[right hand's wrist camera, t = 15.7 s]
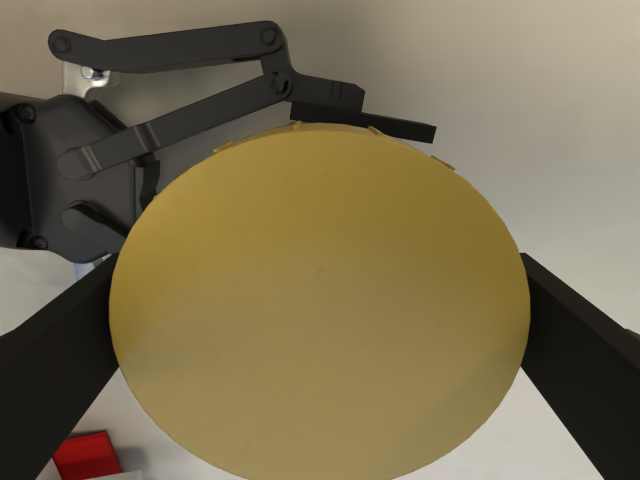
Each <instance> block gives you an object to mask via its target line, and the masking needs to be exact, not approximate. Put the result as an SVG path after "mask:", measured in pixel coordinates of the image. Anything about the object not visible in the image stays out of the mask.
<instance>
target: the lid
mask: <svg viewBox="0 0 640 480" xmlns="http://www.w3.org/2000/svg"><path fill="white" fill-rule="evenodd" d="M213 152H214V154H213V155H212V156H210V157H208V158H206V159H204V160H203V161H201V162H199V163H197V164H195V165H194V166H192V167H191V168H189V169H188V170H187V171H185V172H184V173H183V174H181V175H180V176H179V177H177V178H176V179H175V180H173V181H172V182H171V183H169V184H168V185H167V186H166V187H165V188H164V189H163V190H162V191H161V192H160V193H159V194H157V195H156V196H155V197H154V198H153V199H154V200H153V201H152V202H151V203H150V204H149V205H148V206H147V207H146V209H145V210H144V212H143V213H142V214H141V216H140V217H139V218H138V220H137V221H136V223H135V224H134V225H133V227H132V229H131V231H130V233H129V235H128V237H127V239H126V241H125V243H124V245H123V247H122V249H121V251H120V254H119V257H118V260H117V263H116V266H115V270H114V273H113V277H112V283H111V290H110V297H109V325H110V331H111V337H112V343H113V348H114V351H115V354H116V357H117V361H118V364H119V367H120V370H121V372H122V374H123V376H124V378H125V380H126V382H127V384H128V386H129V388H130V390H131V391H132V393H133V394H134V396H135V397H136V399H137V400H138V402H139V403H140V405H141V406H142V408H143V409H144V410H145V412H146V413H147V414H148V415H149V416H150V417H151V418H152V420H153V421H154V422H155V423H156V424H157V425H158V426H159V427H160V428H161V429H162V430H163V431H164V432H165V433H166V434H167V435H169V436H170V437H171V438H172V439H173V440H174V441H175V442H177V443H178V444H179V445H181V446H182V447H184V448H185V449H186V450H188V451H189V452H191V453H192V454H193V455H195V456H197V457H199V458H200V459H202V460H204V461H206V462H207V463H209V464H211V465H213V466H215V467H217V468H220V469H222V470H224V471H226V472H229V473H231V474H233V475H236V476H239V477H242V478H245V479H248V480H391V479H394V478H397V477H400V476H403V475H406V474H409V473H411V472H413V471H416V470H418V469H420V468H422V467H424V466H426V465H428V464H431V463H432V462H434V461H436V460H437V459H439V458H441V457H442V456H444V455H446V454H447V453H449V452H451V451H452V450H453V449H455V448H456V447H457V446H459V445H460V444H461V443H463V442H464V441H465V440H467V439H468V438H469V437H470V436H471V435H472V434H473V433H474V432H475V431H476V430H477V429H478V428H480V427H481V426H482V425H483V424H484V423H485V422H486V420H487V419H488V418H489V417H490V416H491V414H492V413H493V412H494V411H495V410H496V408H497V407H498V406H499V405H500V403H501V401H502V400H503V398H504V397H505V395H506V393H507V392H508V390H509V389H510V387H511V385H512V383H513V381H514V379H515V377H516V374H517V372H518V370H519V368H520V366H521V362H522V359H523V356H524V352H525V349H526V345H527V341H528V333H529V326H530V293H529V287H528V282H527V276H526V271H525V268H524V265H523V262H522V259H521V256H520V253H519V251H518V248H517V245H516V244H515V242H514V240H513V238H512V236H511V234H510V232H509V231H508V229H507V227H506V225H505V223H504V222H503V220H502V219H501V218H500V217H499V215H498V214H497V213H496V211H495V210H494V209H493V207H492V206H491V205H490V203H489V202H488V201H487V200H486V199H485V198H484V197H483V196H482V195H481V194H480V193H479V192H478V191H477V190H476V189H475V188H474V187H473V186H472V185H471V184H469V183H468V182H467V181H466V180H465V179H464V178H462V177H461V176H459V175H458V174H456V173H455V172H454V170H455V168H454V167H452V166H451V165H449V164H447V163H445V162H443V161H441V160H439V159H438V158H436V157H434V156H431V157H430V156H428V155H426V154H425V153H423V152H421V151H419V150H417V149H416V148H414V147H412V146H410V145H408V144H406V143H404V142H402V141H400V140H398V139H396V138H394V137H391V136H388V135H385V134H382V132H380V131H378V130H377V129H375V128H373V127H371V126H369V127H368V129H366V128H361V127H356V126H351V125H345V124H331V123H307V124H301V121H297V122H296V123H295V124H294V125H288V126H283V127H279V128H274V129H270V130H265V131H262V132H260V133H257V134H254V135H252V136H249V137H246V138H244V139H241V140H239V141H237V142H235V143H234V141H233V140H232V141H230V142H228V143H226V144H224V145H222V146H220V147H218V148H216V149H214V150H213Z"/></svg>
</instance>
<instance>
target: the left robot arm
mask: <svg viewBox="0 0 640 480" xmlns="http://www.w3.org/2000/svg"><path fill="white" fill-rule="evenodd" d="M48 45H49V49H50V50H51V52H52V54H53V55H54V56H55V57H56V58H58V59H60V60H62V61H63V94H61V95H58V96H55V97H53V98H51V99H47V100H45V99H39V98H33V97H27V96H21V95H15V94H10V93H4V92H0V247H3V248H10V249H19V250H46V251H51V252H53V253H56V254H58V255H60V256H62V257H63V258H65V259H66V260H68V261H70V262H73V263H74V265H75V271H76V277H77V281H78V280H80V279H81V278H82V277H84V276H85V275H86V274H88V273H89V272H90V271H91V270H93V269H94V268H95V267H97V266H98V265H99V264H101V263H102V262H103V259H102V257H103V256H105V255H107V254H109V253H110V254H114V253H120V251H121V249H122V247H123V245H124V243H125V241H126V239H127V237H128V235H129V233H130V231H131V229H132V227H133V225H134V224H135V223H136V221H137V220H138V218H139V217H140V216H141V214H142V213H143V212H144V210H145V209H146V207H147V206H148V205H149V204H150V203H151V202H152V201H153V200H154V199H153V198H154V197H155V196H156V195H157V192H156V186H157V183H158V180H159V176H160V161H157V160H156V159H155V156H154V154H153V152H154V151H156V150H159V149H161V148H164V147H166V146H169V145H171V144H174V143H176V142H179V141H181V140H184V139H186V138H189V137H191V136H194V135H197V134H199V133H202V132H204V131H207V130H209V129H212V128H215V127H217V126H220V125H222V124H225V123H227V122H230V121H232V120H235V119H238V118H240V117H243V116H245V115H248V114H250V113H253V112H256V111H258V110H261V109H263V108H266V107H268V106H271V105H273V104H276V103H279V102H281V101H288V102H292V106H291V114H290V120H296V121H302V122H308V123H331V124H345V125H351V126H356V127H361V128H366V129H368V127H369V126H371V127H373V128H375V129H377V130H378V131H380V132H382V134H385V135H388V136H391V137H395V138H401V139H407V140H413V141H419V142H424V143H430V144H432V143H433V139H434V135H435V131H436V128H437V127H436V126H432V125H428V124H424V123H420V122H415V121H409V120H403V119H397V118H392V117H386V116H380V115H374V114H369V113H363V112H361V110H362V105H363V100H364V95H365V91H364V90H363V89H361V88H360V87H358V86H357V85H355V84H351V83H345V82H340V81H334V80H328V79H323V78H317V77H312V76H306V75H302V74H299V73H297V72H296V71H295V70H294V69H293V67H292V64H291V61H290V56H289V51H288V46H287V40H286V37H285V35H284V33H283V32H282V30H281V28H280V27H279V26H278V25H277V24H276V23H274V22H273V21H267V20H266V21H258V22H250V23H242V24H234V25H226V26H217V27H209V28H201V29H193V30H185V31H177V32H169V33H161V34H153V35H144V36H136V37H128V38H120V39H112V40H101V39H97V38H93V37H90V36H86V35H82V34H78V33H74V32H70V31H66V30H59V29H57V30H55V31H52V33H51V34H50V35H49V38H48ZM255 60H261V64H262V69H263V74H264V75H263V76H260V77H258V78H255V79H253V80H250V81H248V82H245V83H243V84H240V85H238V86H235V87H233V88H230V89H228V90H225V91H223V92H220V93H218V94H215V95H213V96H210V97H208V98H205V99H203V100H200V101H198V102H195V103H193V104H190V105H188V106H185V107H183V108H180V109H178V110H175V111H173V112H170V113H168V114H165V115H163V116H160V117H158V118H155V119H153V120H150V121H148V122H145V123H142V124H138V125H136V126H133V127H130V128H128V127H127V126H126V125H125V124H123V123H122V122H121V121H120V120H119V119H118V118H117V117H116V116H114V115H113V114H112V113H111V112H110V111H109V110H108V109H107V108H105V107H104V106H103V105H102V104H101V103H100V102H99V101H97V100H96V99H95V98H96V94H97V92H98V91H99V90H100V89H102V88H110V87H114V86H115V85H117V84H118V82H119V79H120V72H122V73H132V74H145V73H155V72H163V71H172V70H180V69H188V68H197V67H205V66H214V65H222V64H230V63H239V62H247V61H255Z"/></svg>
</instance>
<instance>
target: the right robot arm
mask: <svg viewBox="0 0 640 480" xmlns="http://www.w3.org/2000/svg"><path fill="white" fill-rule="evenodd" d="M119 254H120V253H114V254H112V255H111V256H110V257H108V258H107V259H106V260H105V261H103V262H102V263H101V264H99V265H98V266H97V267H95V268H94V269H93V270H91V271H90V272H89V273H88V274H86V275H85V276H84V277H82V278H81V279H80V280H78V281H77V282H76V283H75V284H73V285H72V286H71V287H69V288H68V289H67V290H65V291H64V292H63V293H61V294H60V295H59V296H58V297H56V298H55V299H54V300H52V301H51V302H50V303H48V304H47V305H46V306H44V307H43V308H42V309H41V310H39V311H38V312H37V313H35V314H34V315H33V316H31V317H30V318H29V319H28V320H26V321H25V322H24V323H22V324H21V325H20V326H18V327H17V328H16V329H14V330H12V331H10V332H8V333H6V334H4V335H2V336H0V480H36V478H37V477H38V476H39V474H40V473H41V472H42V470H43V469H44V468H45V466H46V465H47V464H48V462H49V461H50V459H51V458H52V457H53V455H54V454H55V453H56V451H57V450H58V449H59V447H60V446H61V445H62V443H63V442H64V441H65V439H66V438H67V437H68V435H69V434H70V432H71V431H72V430H73V428H74V427H75V426H76V424H77V423H78V422H79V420H80V419H81V418H82V416H83V415H84V414H85V412H86V411H87V409H88V408H89V407H90V405H91V404H92V403H93V401H94V400H95V399H96V397H97V396H98V395H99V393H100V392H101V391H102V389H103V388H104V387H105V385H106V384H107V382H108V381H109V380H110V378H111V377H112V376H113V374H114V373H115V372H116V370H117V369H118V368H119V364H118V361H117V357H116V354H115V351H114V348H113V343H112V337H111V331H110V325H109V297H110V290H111V283H112V277H113V273H114V270H115V266H116V263H117V260H118V257H119ZM520 256H521V259H522V262H523V265H524V268H525V271H526V276H527V282H528V287H529V293H530V326H529V333H528V341H527V345H526V349H525V352H524V356H523V359H522V362H521V368H522V369H523V370H524V372H525V373H526V374H527V376H528V377H529V378H530V380H531V381H532V382H533V384H534V385H535V387H536V388H537V389H538V391H539V392H540V393H541V395H542V396H543V397H544V399H545V400H546V401H547V403H548V404H549V405H550V407H551V408H552V409H553V411H554V412H555V414H556V415H557V416H558V418H559V419H560V420H561V422H562V423H563V424H564V426H565V427H566V428H567V430H568V431H569V432H570V434H571V435H572V437H573V438H574V439H575V441H576V442H577V443H578V445H579V446H580V447H581V449H582V450H583V451H584V453H585V454H586V455H587V457H588V458H589V459H590V461H591V462H592V464H593V465H594V466H595V468H596V469H597V470H598V472H599V473H600V474H601V476H602V477H603V478H604V480H640V335H639V334H637V333H635V332H633V331H631V330H629V329H624V328H623V327H622V326H620V325H619V324H618V323H616V322H615V321H614V320H612V319H611V318H610V317H609V316H607V315H606V314H605V313H603V312H602V311H601V310H599V309H598V308H597V307H595V306H594V305H593V304H592V303H590V302H589V301H588V300H586V299H585V298H584V297H582V296H581V295H580V294H579V293H577V292H576V291H575V290H573V289H572V288H571V287H569V286H568V285H567V284H565V283H564V282H563V281H562V280H560V279H559V278H558V277H556V276H555V275H554V274H552V273H551V272H550V271H549V270H547V269H546V268H545V267H543V266H542V265H541V264H539V263H538V262H537V261H535V260H534V259H533V258H532V257H530V256H529V255H528V254H526V253H520Z"/></svg>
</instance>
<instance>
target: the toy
mask: <svg viewBox="0 0 640 480" xmlns="http://www.w3.org/2000/svg"><path fill="white" fill-rule="evenodd" d="M36 480H143V478H142V475H141V472H140V470H136V471H131V472H125V473H122V471H121V468H120V466H119V463H118V461H117V458H116V456H115V453H114V451H113V448H112V446H111V443H110V441H109V438H108V436H107V433H106V432H101V433H96V434H91V435H86V436H82V437H77V438H72V439H67V440H65V441H64V442H63V443H62V445H61V446H60V447H59V449H58V450H57V451H56V453H55V454H54V455H53V457H52V458H51V459H50V461H49V462H48V464H47V465H46V466H45V468H44V469H43V470H42V472H41V473H40V474H39V476H38V477H37V478H36Z"/></svg>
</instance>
